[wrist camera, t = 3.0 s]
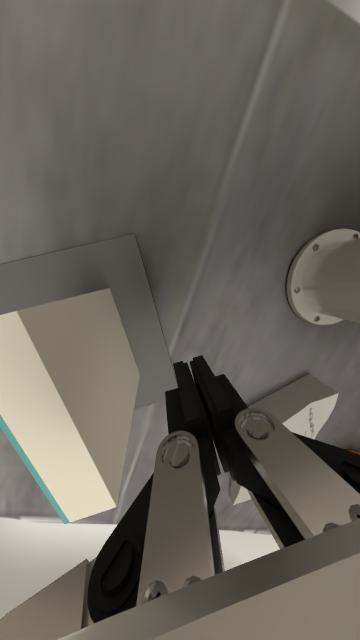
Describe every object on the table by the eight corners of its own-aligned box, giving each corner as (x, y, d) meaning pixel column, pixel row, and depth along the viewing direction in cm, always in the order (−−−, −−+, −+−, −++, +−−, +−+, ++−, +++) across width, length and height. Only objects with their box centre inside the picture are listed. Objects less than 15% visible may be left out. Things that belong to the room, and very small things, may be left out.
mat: (135, 234, 20) (134, 233, 19) (179, 392, 26) (180, 395, 25) (-68, 281, 18) (-75, 281, 18) (28, 437, 24) (25, 440, 24)
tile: (109, 287, 20) (16, 310, 7) (139, 374, 24) (116, 506, 10) (84, 294, 20) (-64, 330, 7) (118, 380, 23) (64, 524, 10)
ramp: (265, 500, 35) (283, 539, 30) (194, 489, 32) (201, 531, 27) (339, 382, 30) (378, 405, 25) (263, 356, 27) (289, 375, 21)
